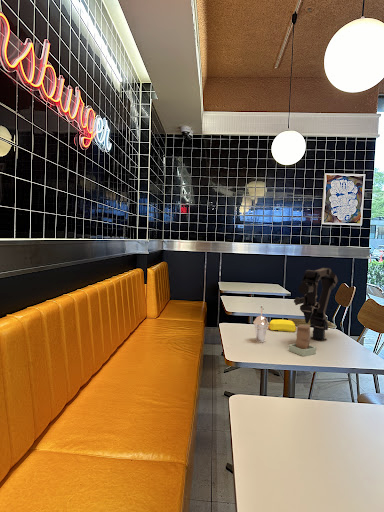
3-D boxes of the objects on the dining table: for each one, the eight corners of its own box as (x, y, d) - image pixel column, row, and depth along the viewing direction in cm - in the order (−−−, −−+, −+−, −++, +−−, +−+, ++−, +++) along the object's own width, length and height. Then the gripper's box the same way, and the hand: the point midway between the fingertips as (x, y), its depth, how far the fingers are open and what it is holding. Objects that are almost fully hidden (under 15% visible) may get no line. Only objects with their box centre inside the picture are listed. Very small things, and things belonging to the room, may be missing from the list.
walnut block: (298, 349, 174) (300, 324, 174) (308, 352, 172) (310, 326, 171) (295, 352, 170) (297, 326, 170) (305, 354, 168) (307, 328, 167)
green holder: (301, 348, 177) (301, 342, 177) (315, 353, 169) (316, 347, 169) (288, 350, 172) (288, 344, 172) (303, 356, 165) (303, 350, 164)
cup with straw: (270, 341, 187) (273, 305, 187) (262, 344, 181) (264, 307, 180) (257, 337, 193) (259, 302, 192) (248, 340, 186) (250, 304, 186)
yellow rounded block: (298, 333, 209) (295, 330, 217) (298, 322, 209) (295, 319, 216) (268, 331, 210) (266, 328, 217) (269, 320, 209) (267, 317, 217)
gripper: (300, 290, 197) (298, 317, 198) (291, 292, 182) (289, 322, 182) (320, 292, 191) (318, 320, 192) (312, 295, 176) (310, 325, 176)
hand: (309, 322), depth 186 cm, fingers open, 9 cm apart
